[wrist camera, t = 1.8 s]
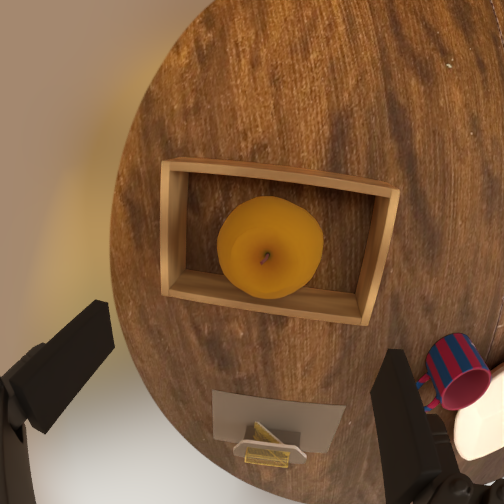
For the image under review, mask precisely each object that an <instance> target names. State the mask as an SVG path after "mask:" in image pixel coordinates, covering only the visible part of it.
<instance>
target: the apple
mask: <svg viewBox="0 0 504 504" xmlns="http://www.w3.org/2000/svg"><path fill="white" fill-rule="evenodd" d="M323 244H324V240H323V232H322V230H321V228H320V226H319V224H318V222H317V221H316V220H315V218H314V217H313V216H312V215H311V214H310V213H309V212H308V211H307V210H305V209H303V208H301V207H299V206H297V205H295V204H293V203H291V202H289V201H287V200H285V199H281V198H278V197H275V196H259V197H256V198H253V199H251V200H248V201H246V202H244V203H242V204H240V205H239V206H238V207H236V208H235V209H234V210H233V211H232V212H231V214H230V215H229V216H228V217H227V219H226V221H225V222H224V224H223V226H222V227H221V229H220V232H219V235H218V237H217V252H218V257H219V263H220V266H221V268H222V271H223V273H224V275H225V276H226V278H227V279H228V280H229V281H230V282H231V283H232V284H233V285H234V286H236V287H237V288H239V289H241V290H242V291H244V292H246V293H247V294H249V295H251V296H252V297H256V298H261V299H277V298H282V297H284V296H287V295H289V294H292V293H294V292H295V291H297V290H298V289H300V288H301V287H303V286H304V285H305V284H306V283H307V282H308V281H309V280H310V279H311V278H312V277H313V275H314V273H315V271H316V269H317V267H318V265H319V263H320V261H321V258H322V251H323Z"/></svg>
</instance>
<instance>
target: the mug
mask: <svg viewBox="0 0 504 504" xmlns="http://www.w3.org/2000/svg"><path fill="white" fill-rule="evenodd" d="M426 367H427V370H428V372H427V373H426V374H424V375H423V376H422V377H421V378H420V379H419V380H418V381H417V382H416V386H417V389H418V390H419V388H420V387H421V386H422V385H423V384H424V383H425V382H426V381H428V380H429V379H431V380H432V382H433V385H434V388H435V390H436V396H435V398H434V400H433V401H432V402H431V403H430V404H429V405H427V406H425V407H424V409H425V412H428V411H430V410H432V409H433V408H434V407H436V406H437V405H438V404H439V403H441V405H442V406H443V408H445V409H447V410H460V409H463V408H466V407H468V406H470V405H471V404H473V403H474V402H476V401H477V400H478V399H480V398H481V397H482V396H483V394H484V393H485V392H486V391H487V389H488V387H489V385H490V383H491V378H492V376H491V372H490V370H489V368H488V367H487V365H486V364H485V362H484V360H483V359H482V357H481V355H480V354H479V352H478V351H477V349H476V348H475V346H474V344H473V343H472V341H471V340H470V338H469V337H468V336H467V335H465V334H462V333H455V334H450V335H448V336H445V337H444V338H442V339H440V340H439V341H438V342H437V343H436V344H435V345H434V346H433V347H432V348H431V350H430V351H429V353H428V355H427V358H426Z"/></svg>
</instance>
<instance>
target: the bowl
mask: <svg viewBox="0 0 504 504" xmlns="http://www.w3.org/2000/svg"><path fill="white" fill-rule="evenodd" d="M490 372H491V376H492V378H491V383H490V385H489V387H488V389H487V391H486V392H485V393H484V394H483V396H482V397H481V398H480V399H478V400H477V401H476V402H474V403H473V404H471V405H470V406H468V407H466V408H463V409H460V410H458V413H457V415H456V418H455V425H454V443H455V446H456V448H457V451H458V452H459V454H460V456H461V457H462V458H464V459H466V460H469V461H470V460H474V459H477V458H480V457H483V456H485V455H487V454H490V453H492V452H494V451H496V450H498V449H500V448H502V447H504V362H503V363H501V364H500V365H498V366H497V367H495V368H494V369H493V370H491V371H490Z"/></svg>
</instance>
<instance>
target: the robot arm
mask: <svg viewBox="0 0 504 504" xmlns="http://www.w3.org/2000/svg"><path fill="white" fill-rule="evenodd" d="M114 348H115V345H114V340H113V334H112V327H111V321H110V314H109V307H108V303H107V302H103V301H99V300H94V301H93V302H92V303H91V304H90V305H89V306H87V307H86V308H85V309H84V310H83V311H82V312H81V313H79V314H78V315H77V316H76V317H75V318H74V319H73V320H72V321H71V322H70V323H68V324H67V325H66V326H65V327H64V328H63V329H62V330H61V331H59V332H58V333H57V334H56V335H55V336H54V337H53V338H52V339H51V340H50V341H49V342H47V343H46V344H45V343H41V344H39V345H37V346H35V347H33V348H32V349H31V350H30V351H29V352H27V353H26V355H24V356H23V357H22V358H21V360H19V361H18V362H17V363H16V364H15V365H13V366H12V367H11V368H10V369H9V370H8V371H7V372H6V373H5V374H4V375H3V376H2V377H0V504H36V501H35V495H34V490H33V484H32V478H31V472H30V464H29V456H28V448H27V447H28V446H27V435H26V427H25V424H24V422H25V421H26V419H27V418H28V420H29V422H30V424H31V425H32V427H33V428H35V429H37V430H38V431H40V432H42V433H44V434H46V433H47V432H48V431H49V429H50V428H51V427H52V425H53V424H54V423H55V421H56V420H57V419H58V417H59V416H60V415H61V414H62V412H63V411H64V410H65V409H66V407H67V406H68V405H69V403H70V402H71V401H72V400H73V398H74V397H75V396H76V395H77V393H78V392H79V391H80V390H81V388H82V387H83V386H84V385H85V383H86V382H87V381H88V380H89V379H90V377H91V376H92V375H93V374H94V372H95V371H96V370H97V369H98V367H99V366H100V365H101V364H102V363H103V361H104V360H105V359H106V358H107V356H108V355H109V354H110V353H111V352H112V350H113V349H114ZM370 394H371V400H372V405H373V411H374V417H375V423H376V429H377V435H378V442H379V449H380V456H381V463H382V471H383V479H384V488H385V497H386V504H410V503H411V502H412V501H413V504H504V479H502V478H501V479H498V480H496V481H495V482H494V483H493V484H492V485H491V486H487V485H479V484H473V483H472V481H471V479H470V478H469V477H468V476H466V475H465V474H462V473H460V471H459V468H458V464H457V461H456V458H455V455H454V451H453V448H452V445H451V443H450V439H449V436H448V435H447V430H446V427H445V424H444V422H443V421H442V420H441V419H440V417H439V416H438V415H437V414H426V412H425V409H424V406H423V403H422V400H421V397H420V394H419V391H418V389H417V386H416V383H415V380H414V377H413V374H412V372H411V369H410V366H409V364H408V361H407V358H406V356H405V353H404V350H401V349H388V350H387V353H386V355H385V358H384V360H383V363H382V366H381V368H380V370H379V373H378V375H377V378H376V380H375V382H374V385H373V387H372V389H371V392H370Z"/></svg>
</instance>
